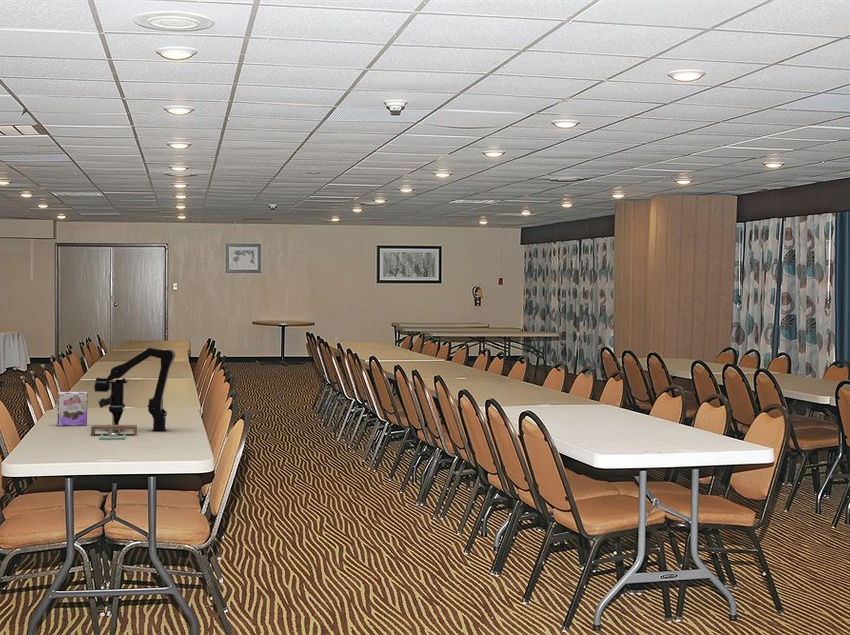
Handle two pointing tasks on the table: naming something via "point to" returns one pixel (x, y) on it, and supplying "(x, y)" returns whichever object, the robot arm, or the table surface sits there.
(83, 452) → the table surface
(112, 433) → the steel puck
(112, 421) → the try square
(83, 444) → the table surface
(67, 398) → the candy box
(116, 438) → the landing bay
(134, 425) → the walnut plinth
